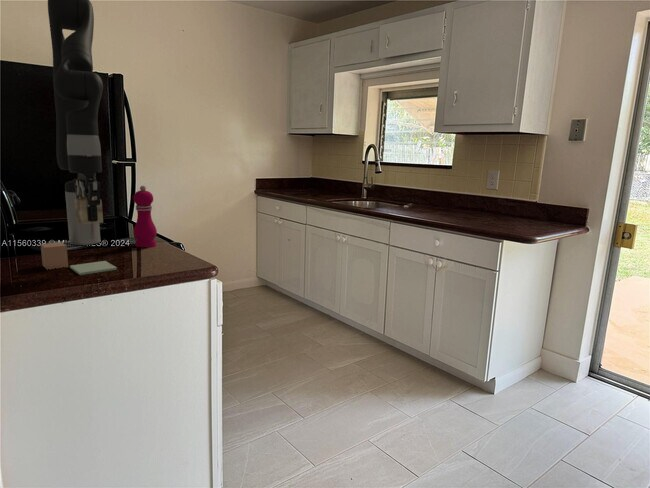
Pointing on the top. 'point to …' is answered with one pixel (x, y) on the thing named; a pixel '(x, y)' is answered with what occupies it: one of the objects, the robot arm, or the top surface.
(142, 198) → the pepper mill
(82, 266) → the pad
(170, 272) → the top surface
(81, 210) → the maple block
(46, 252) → the terracotta block
